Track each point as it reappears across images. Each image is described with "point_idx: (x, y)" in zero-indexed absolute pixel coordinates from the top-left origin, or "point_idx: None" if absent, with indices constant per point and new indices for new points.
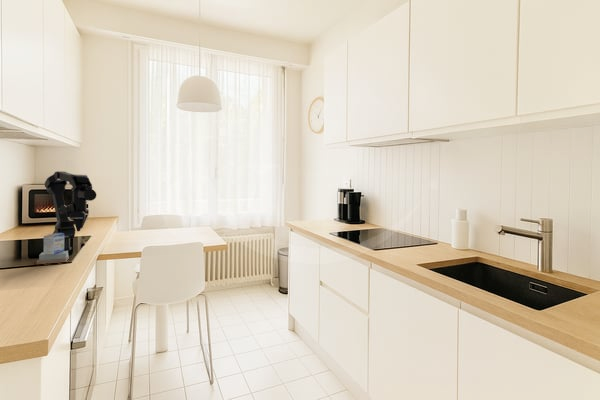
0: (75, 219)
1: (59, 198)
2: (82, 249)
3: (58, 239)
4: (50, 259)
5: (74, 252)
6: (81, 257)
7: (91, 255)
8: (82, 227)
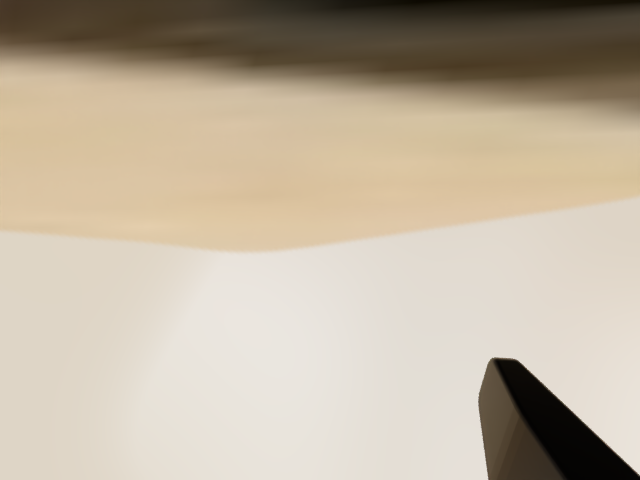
0: None
1: None
2: (628, 128)
3: None
4: None
5: (464, 35)
6: (104, 136)
7: (190, 231)
8: (482, 429)
